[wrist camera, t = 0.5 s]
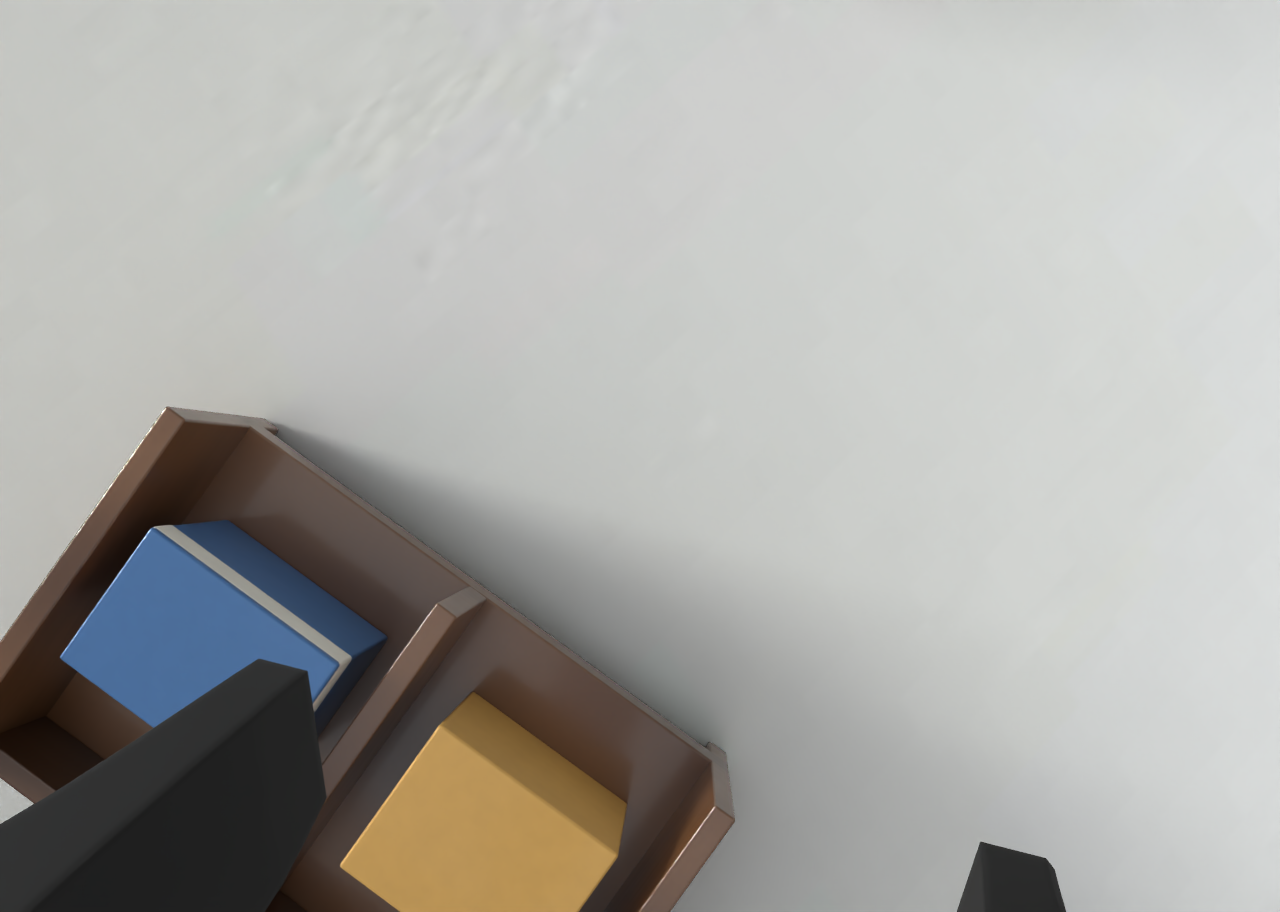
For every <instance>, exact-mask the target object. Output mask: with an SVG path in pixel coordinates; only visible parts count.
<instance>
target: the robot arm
mask: <svg viewBox="0 0 1280 912" xmlns="http://www.w3.org/2000/svg"><path fill="white" fill-rule="evenodd" d="M326 798H327V796H326V789H325V782H324V776H323V769H322V762H321V756H320V749H319V742H318V736H317V729H316V722H315V716H314V709H313V702H312V696H311V689H310V682H309V676H308V671H306V670H302V669H298V668H295V667H291V666H287V665H283V664H279V663H275V662H271V661H267V660H263V659H257V660H255V661H254V662H252V663H251V664H249V665H248V666H246V667H245V668H243V669H241V670H240V671H238V672H237V673H235V674H234V675H232V676H231V677H229V678H228V679H226V680H225V681H223V682H222V683H220V684H219V685H217V686H216V687H214V688H213V689H211V690H210V691H208V692H207V693H205V694H204V695H202V696H201V697H199V698H198V699H196V700H195V701H193V702H192V703H190V704H189V705H187V706H186V707H184V708H183V709H181V710H180V711H178V712H177V713H175V714H174V715H172V716H171V717H169V718H168V719H166V720H165V721H163V722H162V723H160V724H159V725H157V726H156V727H154V728H153V729H151V730H150V731H148V732H147V733H145V734H144V735H142V736H141V737H139V738H138V739H136V740H135V741H133V742H131V743H130V744H128V745H127V746H125V747H124V748H122V749H121V750H119V751H118V752H116V753H114V754H113V755H111V756H110V757H108V758H107V759H105V760H104V761H102V762H100V763H99V764H97V765H96V766H94V767H93V768H91V769H90V770H88V771H87V772H85V773H83V774H82V775H80V776H79V777H77V778H76V779H74V780H73V781H71V782H69V783H68V784H66V785H65V786H63V787H62V788H60V789H58V790H57V791H55V792H53V793H52V794H50V795H48V796H47V797H45V798H43V799H42V800H40V801H38V802H37V803H35V804H33V805H32V806H30V807H28V808H27V809H25V810H23V811H22V812H20V813H18V814H17V815H15V816H13V817H12V818H10V819H8V820H7V821H5V822H3V823H2V824H0V912H265V911H266V909H267V908H268V906H269V904H270V903H271V901H272V900H273V898H274V897H275V895H276V894H277V892H278V891H279V889H280V887H281V886H282V884H283V883H284V881H285V879H286V877H287V875H288V873H289V871H290V869H291V868H292V866H293V864H294V862H295V860H296V858H297V856H298V854H299V852H300V851H301V849H302V847H303V845H304V843H305V841H306V839H307V837H308V835H309V833H310V831H311V829H312V827H313V825H314V823H315V821H316V818H317V816H318V814H319V812H320V810H321V808H322V806H323V804H324V802H325V800H326ZM957 912H1066V910H1065V906H1064V903H1063V899H1062V896H1061V892H1060V888H1059V885H1058V881H1057V877H1056V873H1055V869H1054V868H1053V867H1052V865H1051V864H1050V863H1049V861H1048V860H1047V859H1046V858H1043V857H1039V856H1035V855H1031V854H1027V853H1023V852H1019V851H1015V850H1011V849H1007V848H1003V847H999V846H995V845H991V844H988V843H984V842H980V844H979V847H978V850H977V853H976V856H975V859H974V862H973V865H972V868H971V871H970V874H969V877H968V880H967V883H966V886H965V889H964V892H963V895H962V898H961V901H960V904H959V907H958V910H957Z"/></svg>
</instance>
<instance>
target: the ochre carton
mask: <svg viewBox="0 0 1280 912" xmlns="http://www.w3.org/2000/svg"><path fill="white" fill-rule="evenodd" d="M626 809H627V804H626V803H625V802H624V801H623V800H621V799H620V798H619V797H617V796H616V795H615V794H613V793H612V792H610V791H609V790H608V789H606V788H605V787H604V786H602V785H601V784H599V783H598V782H597V781H595V780H594V779H593V778H591V777H590V776H589V775H587V774H586V773H584V772H583V771H582V770H580V769H579V768H578V767H576V766H575V765H573V764H572V763H571V762H569V761H568V760H567V759H565V758H564V757H562V756H561V755H560V754H558V753H557V752H556V751H554V750H553V749H552V748H550V747H549V746H547V745H546V744H545V743H543V742H542V741H541V740H539V739H538V738H536V737H535V736H534V735H532V734H531V733H530V732H528V731H527V730H526V729H524V728H523V727H521V726H520V725H519V724H517V723H516V722H515V721H513V720H512V719H510V718H509V717H508V716H506V715H505V714H504V713H502V712H501V711H500V710H498V709H497V708H495V707H494V706H493V705H491V704H490V703H489V702H487V701H486V700H484V699H483V698H482V697H480V696H479V695H478V694H476V693H475V692H472V693H470V694H469V695H468V696H467V697H466V698H465V699H464V700H463V701H462V702H461V703H460V704H459V705H458V706H457V707H456V709H455V710H454V711H453V712H452V713H451V714H450V715H449V716H448V717H447V718H446V719H445V720H444V721H443V722H442V723H441V724H440V725H439V726H438V727H437V729H436V730H435V732H434V733H433V734H432V736H431V737H430V739H429V740H428V741H427V743H426V744H425V746H424V747H423V748H422V750H421V751H420V753H419V754H418V755H417V757H416V758H415V760H414V761H413V762H412V764H411V765H410V767H409V768H408V769H407V771H406V772H405V774H404V775H403V776H402V778H401V779H400V781H399V782H398V784H397V785H396V786H395V788H394V789H393V791H392V792H391V793H390V795H389V796H388V798H387V799H386V800H385V802H384V803H383V805H382V806H381V807H380V809H379V810H378V812H377V813H376V814H375V816H374V817H373V819H372V820H371V821H370V823H369V824H368V826H367V827H366V828H365V830H364V831H363V833H362V834H361V835H360V837H359V838H358V840H357V841H356V842H355V844H354V845H353V847H352V848H351V850H350V851H349V852H348V854H347V855H346V857H345V858H344V859H343V861H342V862H341V865H340V867H341V868H342V869H343V870H345V871H346V872H347V873H349V874H350V875H351V876H353V877H354V878H355V879H357V880H358V881H359V882H361V883H362V884H363V885H365V886H366V887H368V888H369V889H370V890H372V891H373V892H374V893H376V894H377V895H378V896H380V897H381V898H382V899H384V900H385V901H386V902H388V903H389V904H390V905H392V906H393V907H394V908H396V909H397V910H398V911H400V912H579V911H580V909H581V908H582V906H583V905H584V904H585V902H586V901H587V900H588V898H589V897H590V895H591V894H592V893H593V891H594V890H595V888H596V887H597V886H598V884H599V883H600V881H601V880H602V879H603V877H604V876H605V874H606V873H607V872H608V870H609V869H610V867H611V866H612V865H613V863H614V862H615V860H616V859H617V858H618V853H619V848H620V842H621V837H622V831H623V826H624V820H625V814H626Z"/></svg>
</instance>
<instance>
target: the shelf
mask: <svg viewBox="0 0 1280 912" xmlns="http://www.w3.org/2000/svg"><path fill="white" fill-rule="evenodd" d="M277 431H278V429H277V428H276V427H275V426H274V425H272V424H271V423H269V422H268V421H267V420H265V419H263V418H255V417H247V416H239V415H231V414H223V413H214V412H206V411H198V410H190V409H182V408H174V407H166V408H165V409H164V410H163V411H162V413H161V414H160V416H159V417H158V419H157V420H156V421H155V423H154V424H153V426H152V427H151V428H150V430H149V431H148V433H147V434H146V436H145V437H144V438H143V440H142V441H141V443H140V444H139V446H138V447H137V448H136V450H135V451H134V453H133V454H132V455H131V457H130V458H129V460H128V461H127V463H126V464H125V465H124V467H123V468H122V470H121V471H120V472H119V474H118V475H117V477H116V478H115V480H114V481H113V482H112V484H111V485H110V487H109V488H108V490H107V491H106V492H105V494H104V495H103V497H102V498H101V499H100V501H99V502H98V504H97V505H96V507H95V508H94V509H93V511H92V512H91V514H90V515H89V516H88V518H87V519H86V521H85V522H84V524H83V525H82V526H81V528H80V529H79V531H78V532H77V534H76V535H75V536H74V538H73V539H72V541H71V542H70V543H69V545H68V546H67V548H66V549H65V551H64V552H63V553H62V555H61V556H60V558H59V559H58V560H57V562H56V563H55V565H54V566H53V568H52V569H51V570H50V572H49V573H48V575H47V576H46V578H45V579H44V580H43V582H42V583H41V585H40V586H39V587H38V589H37V590H36V592H35V593H34V595H33V596H32V597H31V599H30V600H29V602H28V603H27V604H26V606H25V607H24V609H23V610H22V612H21V613H20V614H19V616H18V617H17V619H16V620H15V622H14V623H13V624H12V626H11V627H10V629H9V630H8V631H7V633H6V634H5V636H4V637H3V639H2V640H1V641H0V778H1V779H3V780H4V781H5V782H7V783H8V784H9V785H10V786H12V787H13V788H14V789H16V790H17V791H18V792H20V793H21V794H22V795H24V796H25V797H26V798H28V799H29V800H30V801H32V802H33V803H34V804H35V803H37V802H38V801H40V800H42V799H43V798H45V797H47V796H48V795H50V794H52V793H53V792H55V791H57V790H58V789H60V788H62V787H63V786H65V785H66V784H68V783H69V782H71V781H73V780H74V779H76V778H77V777H79V776H80V775H82V774H83V773H85V772H87V771H88V770H90V769H91V768H93V767H94V766H96V765H97V764H99V763H100V762H102V761H104V760H105V759H107V758H108V757H110V756H111V755H113V754H114V753H116V752H118V751H119V750H121V749H122V748H124V747H125V746H127V745H128V744H130V743H131V742H133V741H135V740H136V739H138V738H139V737H141V736H142V735H144V734H145V733H147V732H148V731H150V730H151V729H153V727H152V726H150V725H149V724H147V723H146V722H145V721H143V720H142V719H141V718H139V717H138V716H137V715H135V714H134V713H133V712H131V711H130V710H129V709H127V708H126V707H125V706H123V705H122V704H121V703H119V702H118V701H117V700H115V699H114V698H113V697H111V696H110V695H109V694H107V693H106V692H104V691H103V690H102V689H100V688H99V687H98V686H96V685H95V684H94V683H92V682H91V681H90V680H88V679H87V678H86V677H84V676H83V675H82V674H80V673H79V672H78V671H76V670H75V669H74V668H72V667H71V666H70V665H68V664H67V663H65V662H64V661H63V660H61V658H60V656H61V654H62V653H63V651H64V650H65V649H66V647H67V646H68V644H69V643H70V641H71V640H72V639H73V637H74V636H75V634H76V633H77V632H78V630H79V629H80V627H81V626H82V624H83V623H84V622H85V620H86V619H87V617H88V616H89V615H90V613H91V612H92V610H93V609H94V607H95V606H96V605H97V603H98V602H99V600H100V599H101V598H102V596H103V595H104V593H105V592H106V590H107V589H108V588H109V586H110V585H111V583H112V582H113V581H114V579H115V578H116V576H117V575H118V573H119V572H120V571H121V569H122V568H123V566H124V565H125V564H126V562H127V561H128V559H129V558H130V556H131V555H132V554H133V552H134V551H135V549H136V548H137V547H138V545H139V544H140V542H141V541H142V539H143V538H144V537H145V535H146V534H147V532H148V531H149V530H150V529H151V528H153V527H155V526H164V525H183V524H192V523H202V522H211V521H221V520H229V521H230V522H231V523H233V524H234V525H236V526H237V527H238V528H240V529H241V530H242V531H244V532H245V533H247V534H248V535H249V536H251V537H252V538H253V539H255V540H256V541H257V542H259V543H260V544H262V545H263V546H264V547H266V548H267V549H268V550H270V551H271V552H273V553H274V554H275V555H277V556H278V557H279V558H281V559H282V560H283V561H285V562H286V563H288V564H289V565H290V566H292V567H293V568H294V569H296V570H297V571H299V572H300V573H301V574H303V575H304V576H305V577H307V578H308V579H309V580H311V581H312V582H314V583H315V584H316V585H318V586H319V587H320V588H322V589H323V590H325V591H326V592H327V593H329V594H330V595H331V596H333V597H334V598H335V599H337V600H338V601H340V602H341V603H342V604H344V605H345V606H346V607H348V608H349V609H351V610H352V611H353V612H355V613H356V614H357V615H359V616H360V617H361V618H363V619H364V620H366V621H367V622H368V623H370V624H371V625H372V626H374V627H375V628H376V629H378V630H379V631H381V632H382V633H383V634H385V635H386V636H387V637H388V638H387V641H386V642H385V644H384V645H383V647H382V648H381V649H380V651H379V652H378V654H377V655H376V656H375V658H374V659H373V661H372V662H371V663H370V665H369V666H368V668H367V669H366V670H365V672H364V673H363V675H362V676H361V677H360V679H359V680H358V682H357V683H356V685H355V686H354V687H353V689H352V690H351V692H350V693H349V694H348V696H347V697H346V699H345V700H344V701H343V703H342V704H341V706H340V707H339V708H338V710H337V711H336V713H335V714H334V715H333V717H332V718H331V720H330V721H329V723H328V724H327V725H326V727H325V728H324V730H323V731H322V732H321V734H320V735H319V737H318V742H319V749H320V756H321V762H322V769H323V776H324V782H325V789H326V796H327V798H326V800H325V802H324V804H323V806H322V808H321V810H320V812H319V814H318V816H317V818H316V821H315V823H314V825H313V827H312V829H311V831H310V833H309V835H308V837H307V839H306V841H305V843H304V845H303V847H302V849H301V851H300V852H299V854H298V856H297V858H296V860H295V862H294V864H293V866H292V868H291V869H290V871H289V873H288V875H287V877H286V879H285V881H284V883H283V884H282V886H281V887H280V889H279V891H278V892H277V894H276V895H275V897H274V898H273V900H272V901H271V903H270V904H269V906H268V908H267V909H266V911H265V912H400V911H398V910H397V909H396V908H394V907H393V906H392V905H390V904H389V903H388V902H386V901H385V900H384V899H382V898H381V897H380V896H378V895H377V894H376V893H374V892H373V891H372V890H370V889H369V888H368V887H366V886H365V885H363V884H362V883H361V882H359V881H358V880H357V879H355V878H354V877H353V876H351V875H350V874H349V873H347V872H346V871H345V870H343V869H342V868H341V867H340V865H341V862H342V861H343V859H344V858H345V857H346V855H347V854H348V852H349V851H350V850H351V848H352V847H353V845H354V844H355V842H356V841H357V840H358V838H359V837H360V835H361V834H362V833H363V831H364V830H365V828H366V827H367V826H368V824H369V823H370V821H371V820H372V819H373V817H374V816H375V814H376V813H377V812H378V810H379V809H380V807H381V806H382V805H383V803H384V802H385V800H386V799H387V798H388V796H389V795H390V793H391V792H392V791H393V789H394V788H395V786H396V785H397V784H398V782H399V781H400V779H401V778H402V776H403V775H404V774H405V772H406V771H407V769H408V768H409V767H410V765H411V764H412V762H413V761H414V760H415V758H416V757H417V755H418V754H419V753H420V751H421V750H422V748H423V747H424V746H425V744H426V743H427V741H428V740H429V739H430V737H431V736H432V734H433V733H434V732H435V730H436V729H437V727H438V726H439V725H440V724H441V723H442V722H443V721H444V720H445V719H446V718H447V717H448V716H449V715H450V714H451V713H452V712H453V711H454V710H455V709H456V707H457V706H458V705H459V704H460V703H461V702H462V701H463V700H464V699H465V698H466V697H467V696H468V695H469V694H470V693H472V692H475V693H476V694H478V695H479V696H480V697H482V698H483V699H484V700H486V701H487V702H489V703H490V704H491V705H493V706H494V707H495V708H497V709H498V710H500V711H501V712H502V713H504V714H505V715H506V716H508V717H509V718H510V719H512V720H513V721H515V722H516V723H517V724H519V725H520V726H521V727H523V728H524V729H526V730H527V731H528V732H530V733H531V734H532V735H534V736H535V737H536V738H538V739H539V740H541V741H542V742H543V743H545V744H546V745H547V746H549V747H550V748H552V749H553V750H554V751H556V752H557V753H558V754H560V755H561V756H562V757H564V758H565V759H567V760H568V761H569V762H571V763H572V764H573V765H575V766H576V767H578V768H579V769H580V770H582V771H583V772H584V773H586V774H587V775H589V776H590V777H591V778H593V779H594V780H595V781H597V782H598V783H599V784H601V785H602V786H604V787H605V788H606V789H608V790H609V791H610V792H612V793H613V794H615V795H616V796H617V797H619V798H620V799H621V800H623V801H624V802H625V803H626V804H627V809H626V814H625V820H624V826H623V831H622V837H621V842H620V848H619V853H618V858H617V859H616V860H615V862H614V863H613V865H612V866H611V867H610V869H609V870H608V872H607V873H606V874H605V876H604V877H603V879H602V880H601V881H600V883H599V884H598V886H597V887H596V888H595V890H594V891H593V893H592V894H591V895H590V897H589V898H588V900H587V901H586V902H585V904H584V905H583V906H582V908H581V909H580V911H579V912H670V911H671V910H672V908H673V907H674V906H675V904H676V903H677V901H678V900H679V899H680V897H681V896H682V894H683V893H684V892H685V890H686V889H687V888H688V886H689V885H690V883H691V882H692V881H693V879H694V878H695V876H696V875H697V874H698V872H699V871H700V869H701V868H702V867H703V865H704V864H705V862H706V861H707V860H708V858H709V857H710V855H711V854H712V853H713V851H714V850H715V849H716V847H717V846H718V844H719V843H720V842H721V840H722V839H723V837H724V836H725V835H726V833H727V832H728V830H729V829H730V828H731V826H732V825H733V823H734V822H735V815H734V808H733V801H732V794H731V786H730V779H729V772H728V765H727V757H726V753H725V752H724V751H722V750H721V749H720V748H718V747H717V746H715V745H714V744H713V743H711V742H709V743H708V744H707V746H706V747H704V746H702V745H701V744H700V743H698V742H697V741H695V740H694V739H693V738H691V737H690V736H689V735H687V734H686V733H684V732H683V731H682V730H680V729H679V728H677V727H676V726H675V725H673V724H672V723H671V722H669V721H668V720H666V719H665V718H664V717H662V716H661V715H660V714H658V713H657V712H655V711H654V710H653V709H651V708H650V707H649V706H647V705H646V704H644V703H643V702H642V701H640V700H639V699H637V698H636V697H635V696H633V695H632V694H631V693H629V692H628V691H626V690H625V689H624V688H622V687H621V686H620V685H618V684H617V683H615V682H614V681H613V680H611V679H610V678H609V677H607V676H606V675H604V674H603V673H602V672H600V671H599V670H597V669H596V668H595V667H593V666H592V665H591V664H589V663H588V662H586V661H585V660H584V659H582V658H581V657H580V656H578V655H577V654H575V653H574V652H573V651H571V650H570V649H569V648H567V647H566V646H564V645H563V644H562V643H560V642H559V641H557V640H556V639H555V638H553V637H552V636H551V635H549V634H548V633H546V632H545V631H544V630H542V629H541V628H540V627H538V626H537V625H535V624H534V623H533V622H531V621H530V620H529V619H527V618H526V617H524V616H523V615H522V614H520V613H519V612H517V611H516V610H515V609H513V608H512V607H511V606H509V605H508V604H506V603H505V602H504V601H502V600H501V599H500V598H498V597H497V596H495V595H494V594H493V593H491V592H490V591H489V590H487V589H486V588H484V587H483V586H482V585H480V584H479V583H477V582H476V581H475V580H473V579H472V578H471V577H469V576H468V575H466V574H465V573H464V572H462V571H461V570H460V569H458V568H457V567H455V566H454V565H453V564H451V563H450V562H449V561H447V560H446V559H444V558H443V557H442V556H440V555H439V554H437V553H436V552H435V551H433V550H432V549H431V548H429V547H428V546H426V545H425V544H424V543H422V542H421V541H420V540H418V539H417V538H415V537H414V536H413V535H411V534H410V533H409V532H407V531H406V530H404V529H403V528H402V527H400V526H399V525H397V524H396V523H395V522H393V521H392V520H391V519H389V518H388V517H386V516H385V515H384V514H382V513H381V512H380V511H378V510H377V509H375V508H374V507H373V506H371V505H370V504H369V503H367V502H366V501H364V500H363V499H362V498H360V497H359V496H357V495H356V494H355V493H353V492H352V491H351V490H349V489H348V488H346V487H345V486H344V485H342V484H341V483H340V482H338V481H337V480H335V479H334V478H333V477H331V476H330V475H329V474H327V473H326V472H324V471H323V470H322V469H320V468H319V467H317V466H316V465H315V464H313V463H312V462H311V461H309V460H308V459H306V458H305V457H304V456H302V455H301V454H300V453H298V452H297V451H295V450H294V449H293V448H291V447H290V446H289V445H287V444H286V443H284V442H283V441H282V440H280V439H279V438H277V437H276V436H275V434H276V433H277Z"/></svg>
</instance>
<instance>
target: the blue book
mask: <svg viewBox="0 0 1280 912" xmlns="http://www.w3.org/2000/svg"><path fill="white" fill-rule="evenodd" d="M387 638H388V637H387V636H386V635H385V634H383V633H382V632H381V631H379V630H378V629H376V628H375V627H374V626H372V625H371V624H370V623H368V622H367V621H366V620H364V619H363V618H361V617H360V616H359V615H357V614H356V613H355V612H353V611H352V610H351V609H349V608H348V607H346V606H345V605H344V604H342V603H341V602H340V601H338V600H337V599H335V598H334V597H333V596H331V595H330V594H329V593H327V592H326V591H325V590H323V589H322V588H320V587H319V586H318V585H316V584H315V583H314V582H312V581H311V580H309V579H308V578H307V577H305V576H304V575H303V574H301V573H300V572H299V571H297V570H296V569H294V568H293V567H292V566H290V565H289V564H288V563H286V562H285V561H283V560H282V559H281V558H279V557H278V556H277V555H275V554H274V553H273V552H271V551H270V550H268V549H267V548H266V547H264V546H263V545H262V544H260V543H259V542H257V541H256V540H255V539H253V538H252V537H251V536H249V535H248V534H247V533H245V532H244V531H242V530H241V529H240V528H238V527H237V526H236V525H234V524H233V523H231V522H230V521H229V520H221V521H211V522H202V523H192V524H183V525H164V526H155V527H153V528H151V529H150V530H149V531H148V532H147V534H146V535H145V537H144V538H143V539H142V541H141V542H140V544H139V545H138V547H137V548H136V549H135V551H134V552H133V554H132V555H131V556H130V558H129V559H128V561H127V562H126V564H125V565H124V566H123V568H122V569H121V571H120V572H119V573H118V575H117V576H116V578H115V579H114V581H113V582H112V583H111V585H110V586H109V588H108V589H107V590H106V592H105V593H104V595H103V596H102V598H101V599H100V600H99V602H98V603H97V605H96V606H95V607H94V609H93V610H92V612H91V613H90V615H89V616H88V617H87V619H86V620H85V622H84V623H83V624H82V626H81V627H80V629H79V630H78V632H77V633H76V634H75V636H74V637H73V639H72V640H71V641H70V643H69V644H68V646H67V647H66V649H65V650H64V651H63V653H62V654H61V656H60V658H61V660H63V661H64V662H65V663H67V664H68V665H70V666H71V667H72V668H74V669H75V670H76V671H78V672H79V673H80V674H82V675H83V676H84V677H86V678H87V679H88V680H90V681H91V682H92V683H94V684H95V685H96V686H98V687H99V688H100V689H102V690H103V691H104V692H106V693H107V694H109V695H110V696H111V697H113V698H114V699H115V700H117V701H118V702H119V703H121V704H122V705H123V706H125V707H126V708H127V709H129V710H130V711H131V712H133V713H134V714H135V715H137V716H138V717H139V718H141V719H142V720H143V721H145V722H146V723H147V724H149V725H150V726H152V727H153V728H154V727H156V726H157V725H159V724H160V723H162V722H163V721H165V720H166V719H168V718H169V717H171V716H172V715H174V714H175V713H177V712H178V711H180V710H181V709H183V708H184V707H186V706H187V705H189V704H190V703H192V702H193V701H195V700H196V699H198V698H199V697H201V696H202V695H204V694H205V693H207V692H208V691H210V690H211V689H213V688H214V687H216V686H217V685H219V684H220V683H222V682H223V681H225V680H226V679H228V678H229V677H231V676H232V675H234V674H235V673H237V672H238V671H240V670H241V669H243V668H245V667H246V666H248V665H249V664H251V663H252V662H254V661H255V660H257V659H263V660H267V661H271V662H275V663H279V664H283V665H287V666H291V667H295V668H298V669H302V670H306V671H308V676H309V682H310V689H311V696H312V702H313V709H314V716H315V722H316V729H317V736H318V737H319V735H320V734H321V732H322V731H323V730H324V728H325V727H326V725H327V724H328V723H329V721H330V720H331V718H332V717H333V715H334V714H335V713H336V711H337V710H338V708H339V707H340V706H341V704H342V703H343V701H344V700H345V699H346V697H347V696H348V694H349V693H350V692H351V690H352V689H353V687H354V686H355V685H356V683H357V682H358V680H359V679H360V677H361V676H362V675H363V673H364V672H365V670H366V669H367V668H368V666H369V665H370V663H371V662H372V661H373V659H374V658H375V656H376V655H377V654H378V652H379V651H380V649H381V648H382V647H383V645H384V644H385V642H386V641H387Z"/></svg>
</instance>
